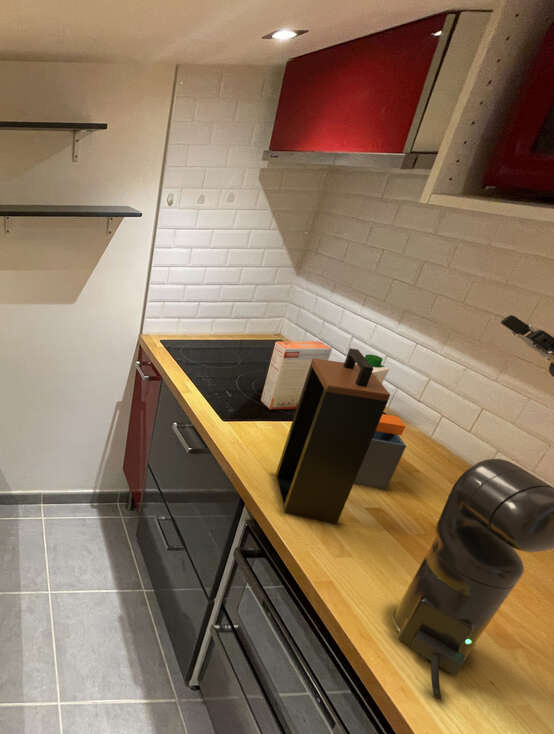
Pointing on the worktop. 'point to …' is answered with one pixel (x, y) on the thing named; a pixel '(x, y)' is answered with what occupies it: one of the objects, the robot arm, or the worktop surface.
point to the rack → (329, 436)
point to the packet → (390, 425)
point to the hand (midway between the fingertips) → (519, 325)
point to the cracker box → (290, 372)
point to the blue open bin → (380, 460)
